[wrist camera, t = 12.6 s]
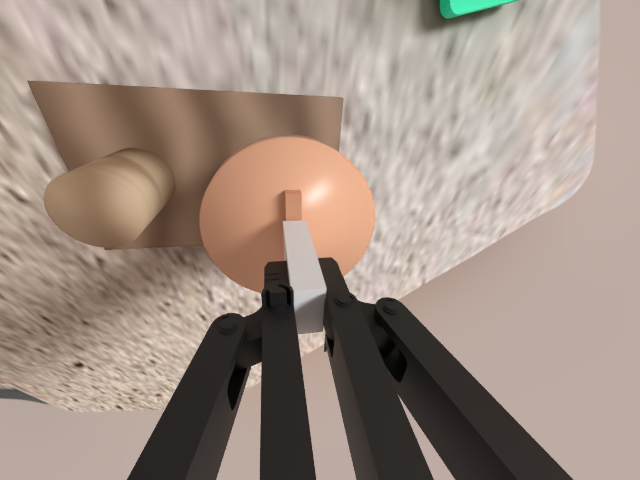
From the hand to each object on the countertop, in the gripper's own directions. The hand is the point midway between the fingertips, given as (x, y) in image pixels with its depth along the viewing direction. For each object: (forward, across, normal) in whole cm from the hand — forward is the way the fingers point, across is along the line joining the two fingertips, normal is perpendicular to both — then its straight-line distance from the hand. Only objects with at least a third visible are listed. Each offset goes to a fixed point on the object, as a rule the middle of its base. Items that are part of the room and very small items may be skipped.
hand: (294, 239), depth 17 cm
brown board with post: (+15, -7, 0) cm, 16 cm away
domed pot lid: (+6, 0, 0) cm, 6 cm away
